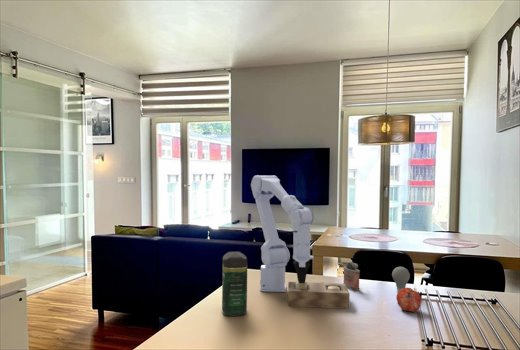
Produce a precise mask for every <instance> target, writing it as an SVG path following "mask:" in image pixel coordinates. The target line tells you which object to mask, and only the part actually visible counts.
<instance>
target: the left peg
mask: <svg viewBox="0 0 520 350" xmlns="http://www.w3.org/2000/svg"><path fill="white" fill-rule="evenodd" d="M295 282H296V289H307V281H306V280H305V283H298V280H297V281H295Z"/></svg>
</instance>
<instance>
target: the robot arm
mask: <svg viewBox="0 0 520 350" xmlns="http://www.w3.org/2000/svg"><path fill="white" fill-rule="evenodd" d="M280 182H281V179H279V178H278V176H276V175H259V174H257V175H254V176H253V177H252V178H251V183H250V188H251V191H252V195H253V198H254V199H255V204H256V208H257V212H258V216H259V219H260V224H261V228H262V232H263V237H264V240H265V242H264V243H263V245H261V247H260V250H261V258H260V259H261V261H262V264H261V266H260V280H259V284H260V288H259V289H260V290H259V292H271V293H272V292H273V293H274V292H275V293H276V292H277V293H286V292H287V284H286V266H287V265H288V262H289V261H290V259H291V258H290V257H291V254H290V251H289V249H288V247H287V245H286V242H285V241H283V240H282V239H281V238H279V234H278V231H277V229H278V228H277V226H276V222H275V219H274V215H273V211H272V207H271V203H270V200H271V199H272V198H273V197H276V198H277V199H278V200H279V201H280V202H281V203H280V206H281V208H282V209H284V211H285V212H286V214H288V216H289V220H290V222H291V228H292V231H293V254H292V259H293V264H292V265H293V266H294V269H295V271H296V276H297V281H298V283H305V281H306V279H307V274H308V270H309V268H310V267H311V263H310V260H313V259H314V255H311V224H312V223H313V222H314V220H315V215H314V212H313V209H311V208H310V207H305V206H303V204H302V203H301V202H300V201H299V200H298V199H297V197H296V196H295V195H292V194H290V195H289V194H288V193H287V191H286V190H285V189H284V188H283V186H282V184H281V183H280Z"/></svg>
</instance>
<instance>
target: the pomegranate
mask: <svg viewBox="0 0 520 350" xmlns="http://www.w3.org/2000/svg"><path fill="white" fill-rule="evenodd" d="M396 293H397V292H396ZM396 301H397V305H398V307H399V308H400V309H402V310H403V311H405V312H412V313H413V312H414V313H415V312H417V311H418V310H419V309H420V308H421V306H422V297H421V294H420V293H419V292H418V291H415V290H414V289H413V288H411V287H405V288H403V289H402V290H400V291H399V292H398V293H397V294H396Z"/></svg>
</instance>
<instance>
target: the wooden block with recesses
mask: <svg viewBox="0 0 520 350" xmlns="http://www.w3.org/2000/svg"><path fill="white" fill-rule="evenodd" d="M306 282H307V281H306ZM287 283H288V285H287V286H288V288H287V306H288V307H300V308H301V307H304V308H323V309H325V308H326V309H327V308H329V309H350V294H351V293H350V290H349V289H347V287H346V285H345V284H343V283H336V282H332V283H331V282H307V289H296V281H288V282H287ZM329 286H337V287H339V288H340V290H328V287H329Z"/></svg>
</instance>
